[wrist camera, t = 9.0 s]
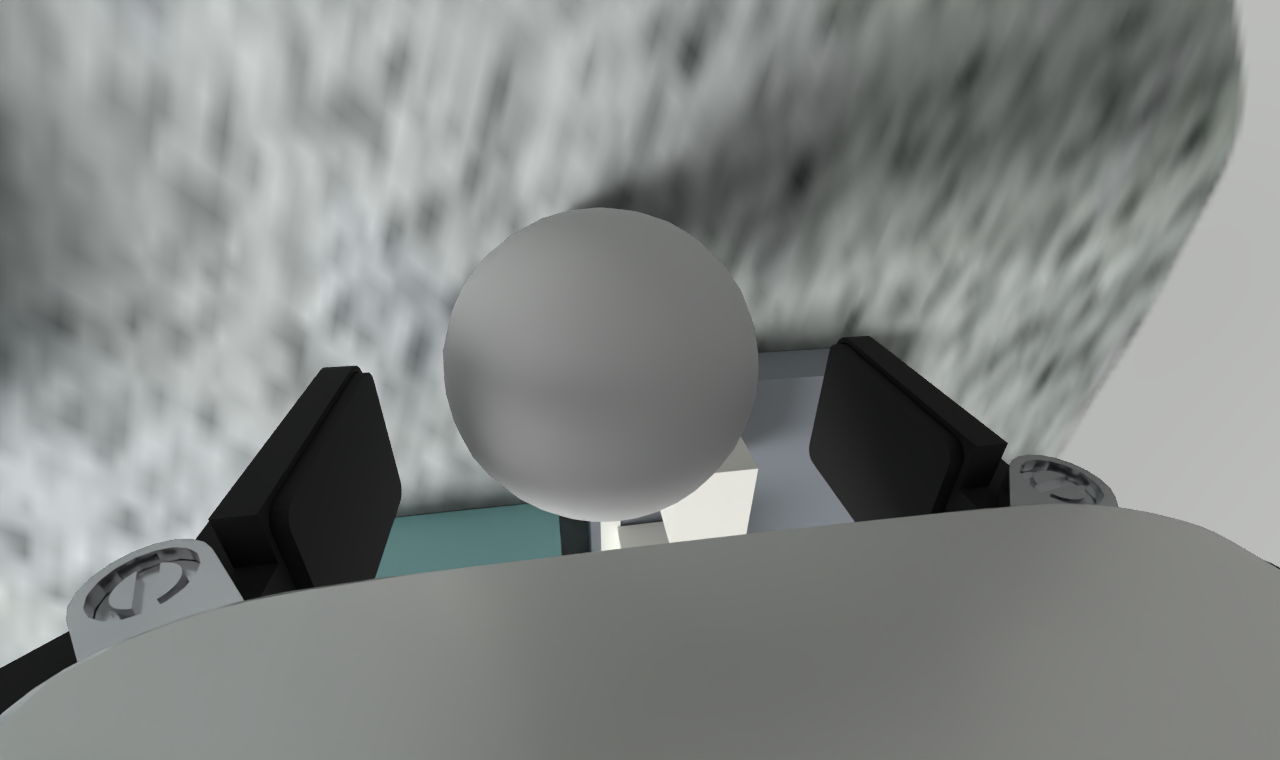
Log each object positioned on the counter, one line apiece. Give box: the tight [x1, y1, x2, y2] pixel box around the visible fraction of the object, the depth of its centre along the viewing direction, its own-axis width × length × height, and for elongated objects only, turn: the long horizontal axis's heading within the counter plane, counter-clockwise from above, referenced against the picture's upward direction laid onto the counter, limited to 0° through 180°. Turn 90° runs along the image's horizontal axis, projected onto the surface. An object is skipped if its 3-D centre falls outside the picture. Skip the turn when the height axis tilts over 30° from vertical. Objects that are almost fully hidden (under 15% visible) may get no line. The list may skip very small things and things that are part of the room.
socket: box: [375, 504, 562, 578], centre depth 23 cm, size 10×10×4 cm
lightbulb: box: [443, 207, 759, 522], centre depth 13 cm, size 6×6×11 cm
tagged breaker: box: [617, 522, 669, 549], centre depth 21 cm, size 3×2×4 cm
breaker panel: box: [588, 348, 854, 552], centre depth 22 cm, size 16×12×6 cm
